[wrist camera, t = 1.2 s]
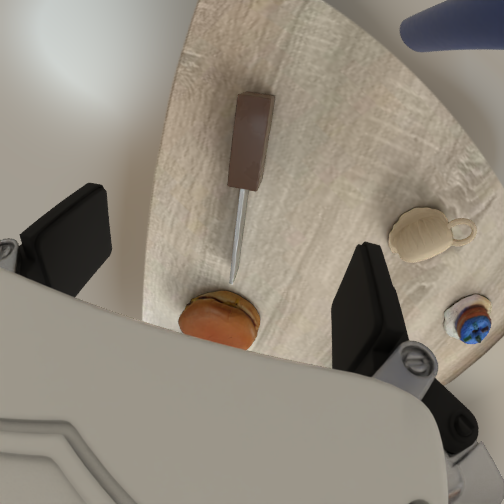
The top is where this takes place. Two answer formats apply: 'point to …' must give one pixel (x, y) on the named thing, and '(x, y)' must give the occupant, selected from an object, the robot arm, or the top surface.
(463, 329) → the dessert
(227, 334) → the burger
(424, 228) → the decorative ornament
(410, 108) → the top surface
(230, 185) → the knife
